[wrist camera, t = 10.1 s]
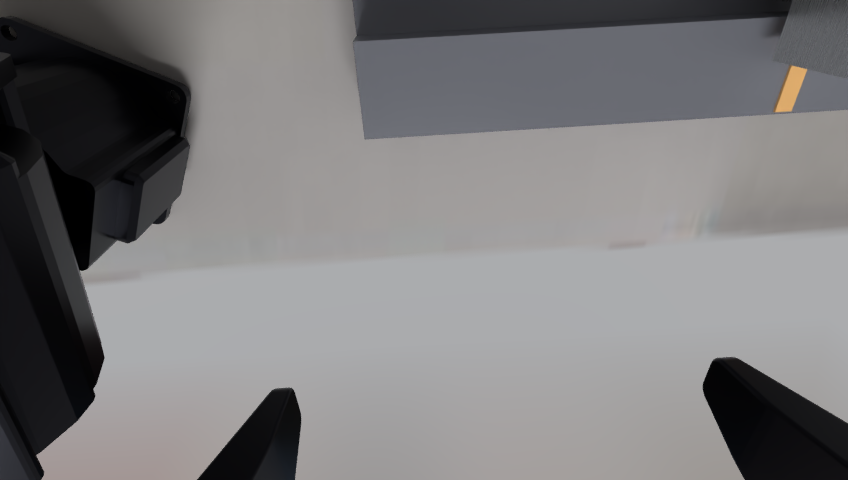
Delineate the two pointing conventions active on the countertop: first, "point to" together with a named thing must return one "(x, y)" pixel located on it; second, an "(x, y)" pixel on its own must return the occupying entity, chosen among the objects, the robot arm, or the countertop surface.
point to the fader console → (574, 64)
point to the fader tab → (815, 36)
